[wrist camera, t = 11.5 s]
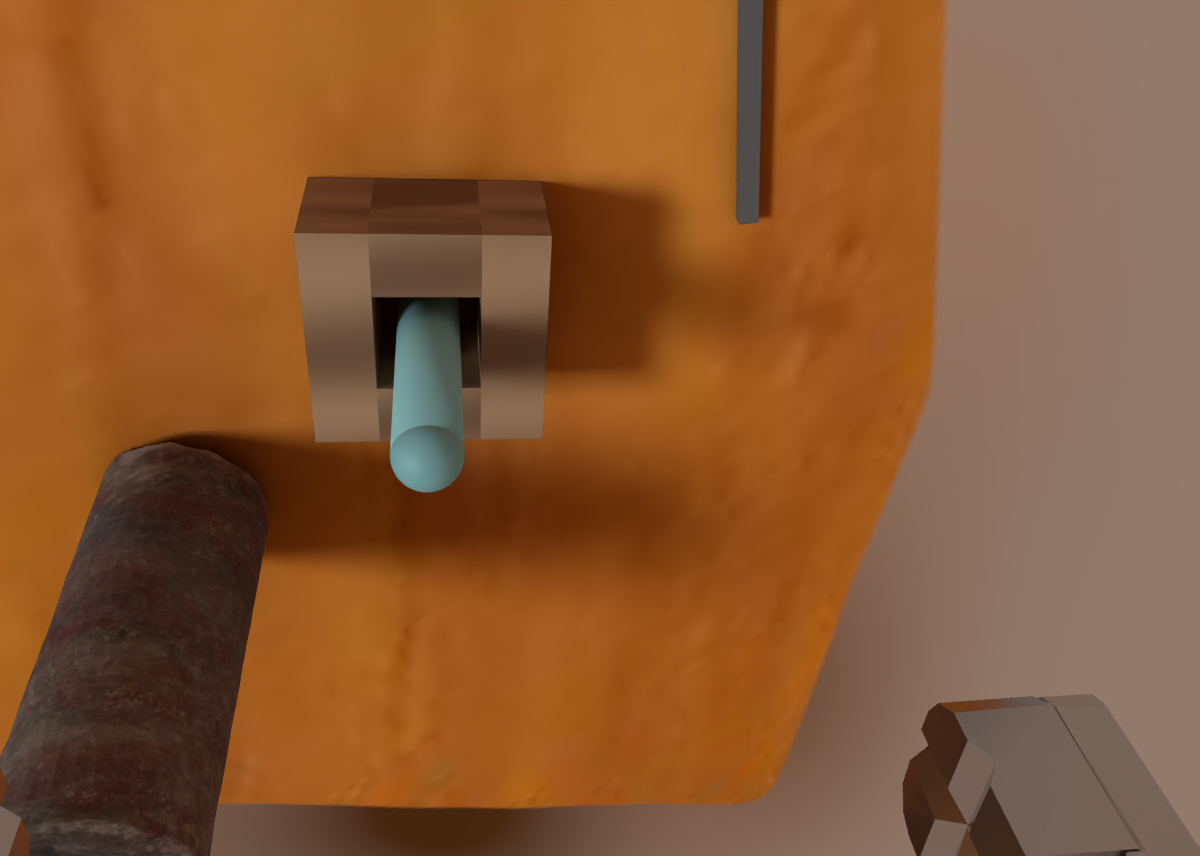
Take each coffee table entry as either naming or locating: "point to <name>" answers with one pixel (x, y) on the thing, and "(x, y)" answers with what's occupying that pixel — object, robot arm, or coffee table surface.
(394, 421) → the teal capsule
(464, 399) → the block with square hole
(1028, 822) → the robot arm
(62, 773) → the textured grey cylinder
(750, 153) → the dark grey bar
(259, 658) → the coffee table surface
